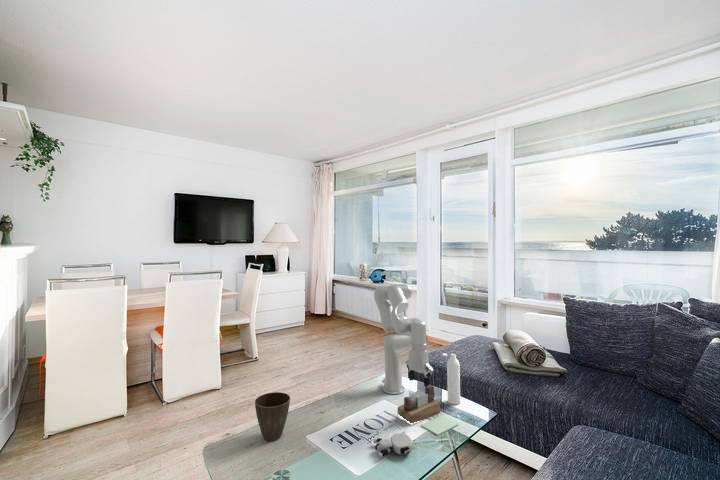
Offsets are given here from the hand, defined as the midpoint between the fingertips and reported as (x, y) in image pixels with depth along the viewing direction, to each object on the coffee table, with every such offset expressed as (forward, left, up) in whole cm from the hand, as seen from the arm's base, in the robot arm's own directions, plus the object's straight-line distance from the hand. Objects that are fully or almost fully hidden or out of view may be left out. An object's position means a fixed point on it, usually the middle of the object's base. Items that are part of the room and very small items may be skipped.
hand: (419, 382), depth 165 cm
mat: (+12, 0, -16) cm, 20 cm away
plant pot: (-26, -64, -16) cm, 71 cm away
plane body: (-1, 0, -16) cm, 16 cm away
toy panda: (+13, -29, -16) cm, 36 cm away
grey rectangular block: (-1, 0, -11) cm, 11 cm away
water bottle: (0, +24, -16) cm, 29 cm away
